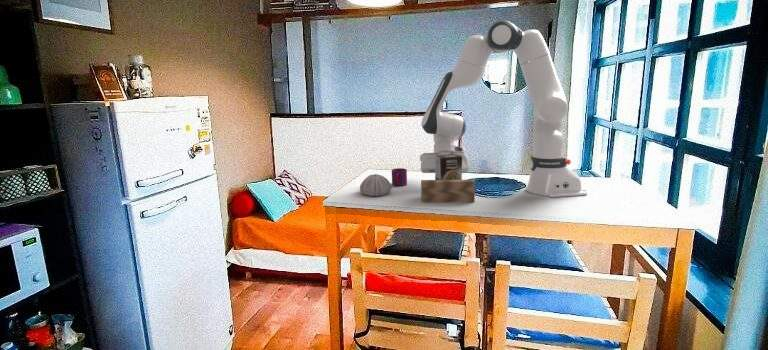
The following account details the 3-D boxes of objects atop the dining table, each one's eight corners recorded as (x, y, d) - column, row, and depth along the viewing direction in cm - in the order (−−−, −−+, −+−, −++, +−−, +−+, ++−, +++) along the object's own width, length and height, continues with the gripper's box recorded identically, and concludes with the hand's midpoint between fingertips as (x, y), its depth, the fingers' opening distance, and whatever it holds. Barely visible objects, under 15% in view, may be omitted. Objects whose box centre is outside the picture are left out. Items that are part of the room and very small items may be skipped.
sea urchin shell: (373, 200, 157) (373, 180, 155) (352, 193, 167) (352, 175, 165) (398, 193, 166) (397, 174, 164) (376, 187, 176) (376, 169, 174)
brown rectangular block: (472, 198, 155) (473, 178, 153) (474, 202, 150) (474, 181, 148) (421, 198, 157) (421, 178, 155) (421, 202, 152) (421, 182, 150)
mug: (408, 183, 181) (408, 168, 179) (402, 188, 172) (402, 173, 170) (394, 182, 183) (394, 167, 181) (387, 188, 174) (387, 172, 172)
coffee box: (440, 198, 156) (441, 157, 153) (434, 193, 162) (434, 155, 159) (462, 195, 159) (462, 156, 155) (455, 191, 165) (455, 153, 161)
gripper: (419, 148, 169) (420, 176, 162) (468, 148, 167) (471, 176, 160) (419, 157, 174) (420, 184, 167) (467, 156, 173) (469, 184, 165)
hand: (445, 180), depth 164 cm, fingers closed
